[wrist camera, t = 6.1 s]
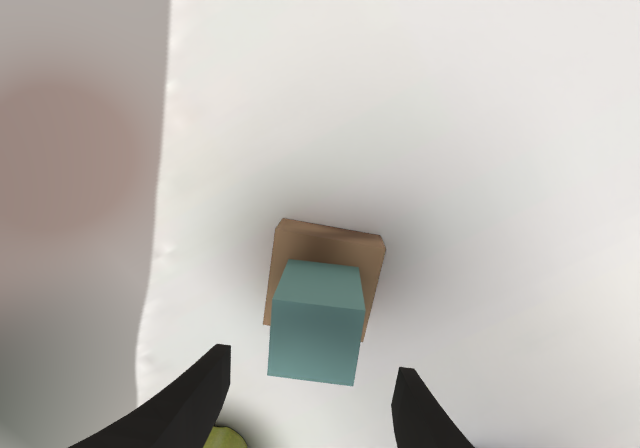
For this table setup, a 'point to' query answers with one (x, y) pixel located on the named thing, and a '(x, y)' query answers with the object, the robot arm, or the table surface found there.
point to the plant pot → (224, 439)
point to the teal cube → (316, 323)
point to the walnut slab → (326, 256)
